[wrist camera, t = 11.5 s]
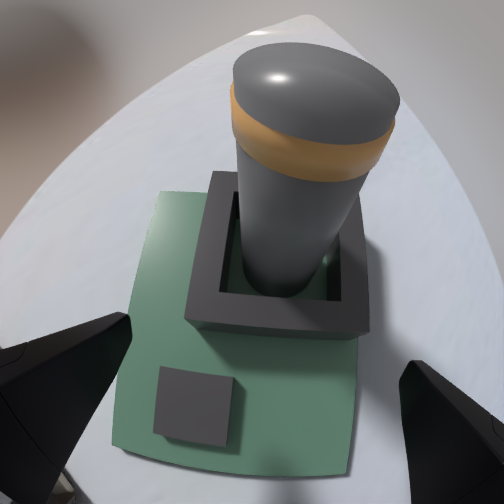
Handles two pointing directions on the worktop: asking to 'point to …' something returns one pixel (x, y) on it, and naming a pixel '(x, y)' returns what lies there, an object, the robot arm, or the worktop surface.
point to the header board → (239, 347)
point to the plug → (302, 154)
